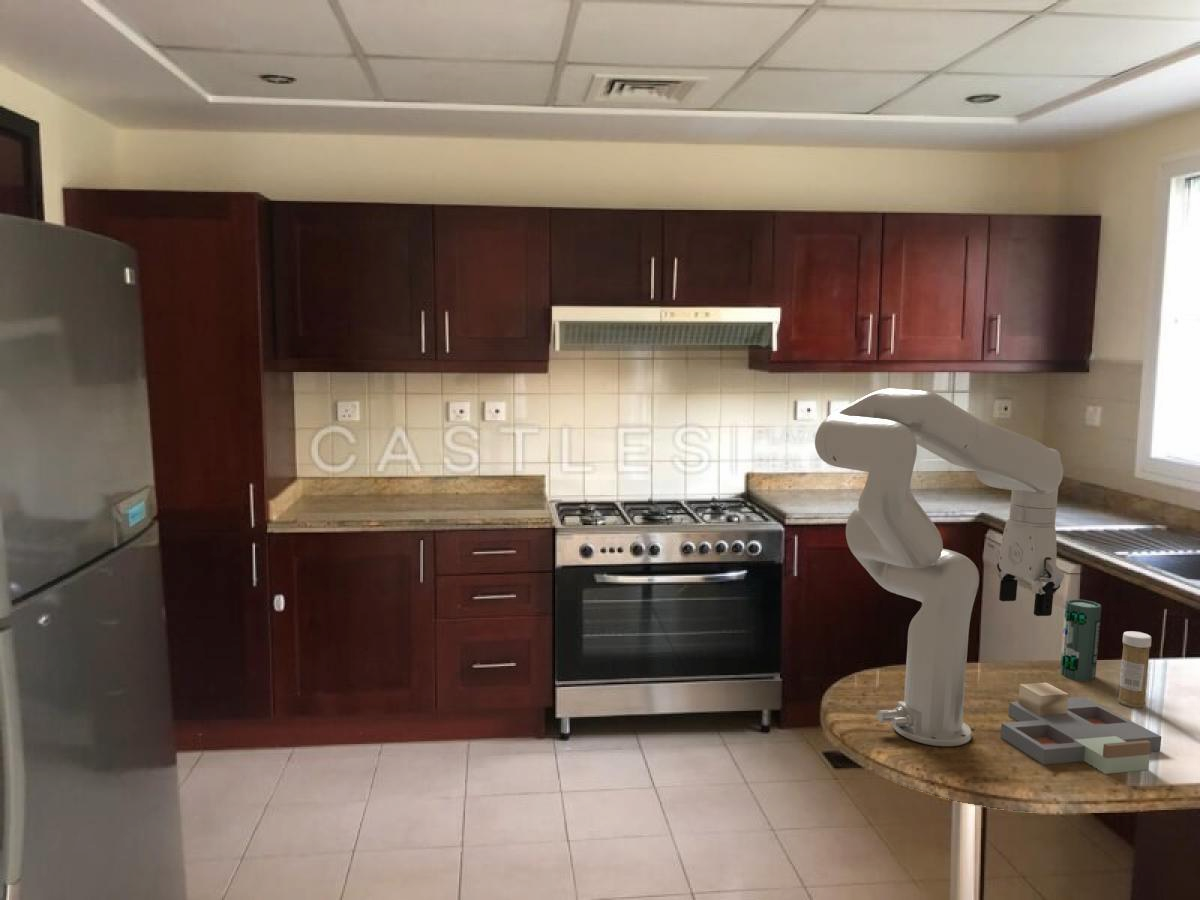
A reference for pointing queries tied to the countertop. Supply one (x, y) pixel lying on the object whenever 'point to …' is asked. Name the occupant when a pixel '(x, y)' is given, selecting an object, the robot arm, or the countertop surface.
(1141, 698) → the sprinkles bottle
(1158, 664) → the countertop surface
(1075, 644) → the can
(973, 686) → the countertop surface
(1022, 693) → the birch block
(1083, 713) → the board
